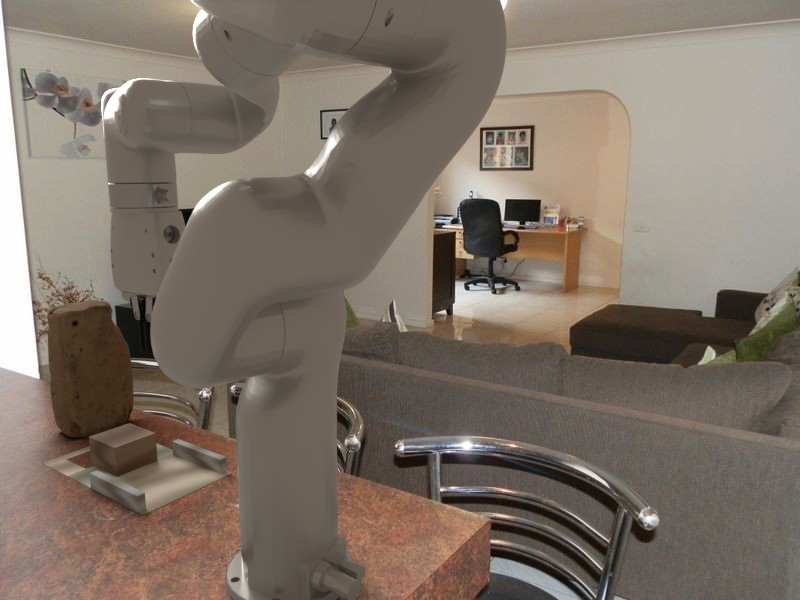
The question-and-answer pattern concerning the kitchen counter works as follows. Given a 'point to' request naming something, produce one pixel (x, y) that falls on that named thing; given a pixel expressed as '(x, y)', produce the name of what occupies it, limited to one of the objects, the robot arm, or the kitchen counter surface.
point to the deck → (150, 476)
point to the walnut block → (123, 449)
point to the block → (88, 369)
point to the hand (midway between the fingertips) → (155, 350)
